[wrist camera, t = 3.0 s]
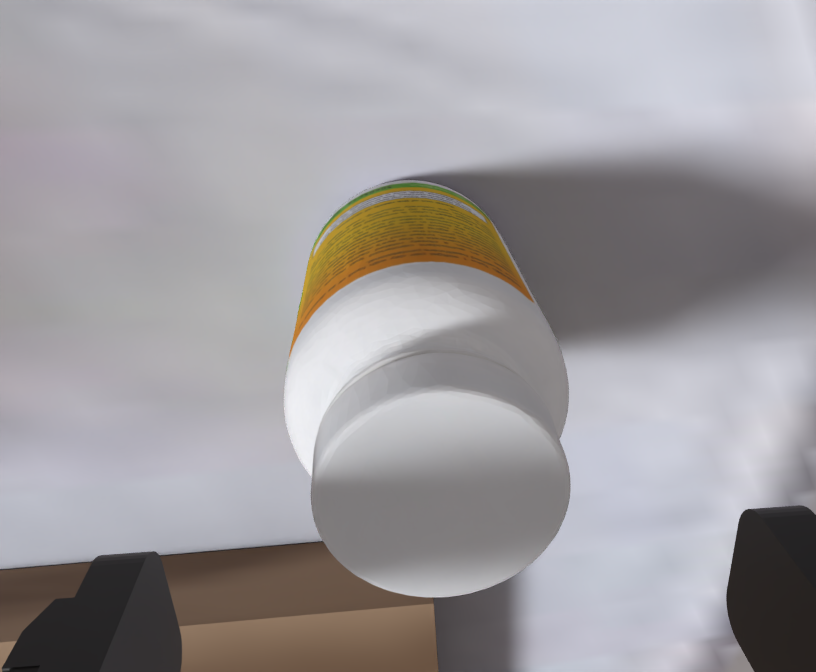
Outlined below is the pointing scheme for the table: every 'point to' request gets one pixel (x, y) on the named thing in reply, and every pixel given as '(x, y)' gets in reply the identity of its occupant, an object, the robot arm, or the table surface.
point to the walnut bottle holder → (259, 612)
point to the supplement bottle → (426, 396)
